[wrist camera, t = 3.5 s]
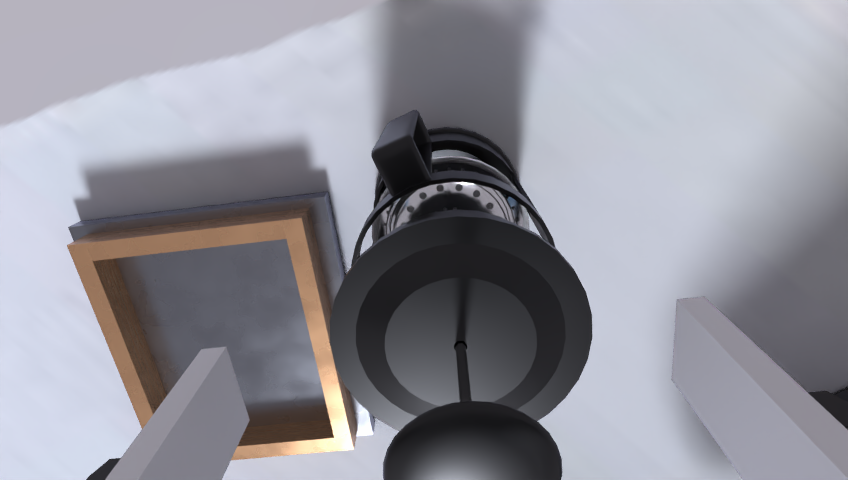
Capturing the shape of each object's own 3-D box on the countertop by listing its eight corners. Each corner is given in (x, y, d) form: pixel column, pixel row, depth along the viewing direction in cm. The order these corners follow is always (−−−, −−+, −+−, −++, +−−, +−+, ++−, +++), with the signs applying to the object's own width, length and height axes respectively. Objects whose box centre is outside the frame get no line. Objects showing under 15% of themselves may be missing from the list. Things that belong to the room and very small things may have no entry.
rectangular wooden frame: (328, 191, 33) (317, 206, 30) (374, 423, 40) (370, 454, 37) (80, 221, 34) (46, 238, 31) (167, 442, 41) (146, 473, 38)
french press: (543, 241, 34) (735, 581, 12) (417, 293, 35) (392, 674, 14) (475, 74, 30) (581, 147, 9) (337, 140, 32) (135, 342, 10)
